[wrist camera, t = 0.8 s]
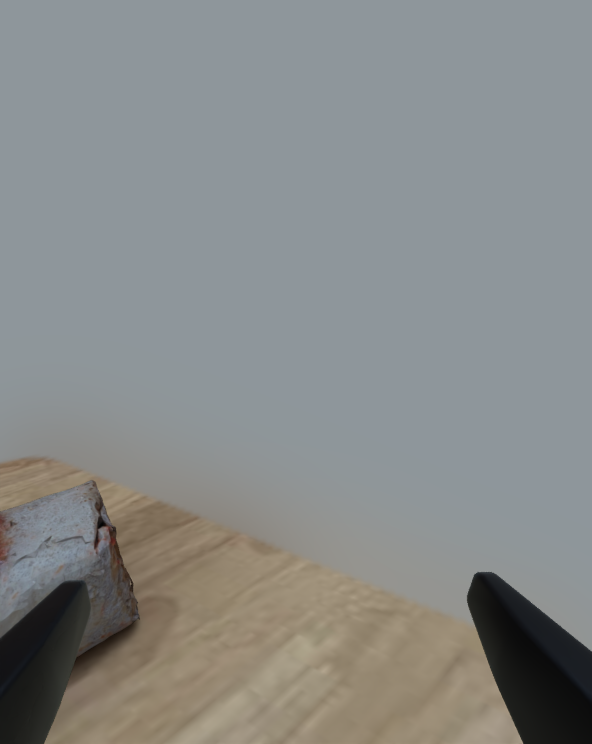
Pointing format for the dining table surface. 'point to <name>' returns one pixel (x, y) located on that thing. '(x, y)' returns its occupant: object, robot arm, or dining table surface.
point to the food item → (64, 560)
